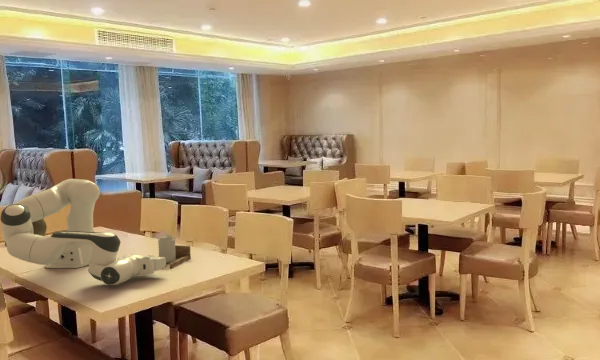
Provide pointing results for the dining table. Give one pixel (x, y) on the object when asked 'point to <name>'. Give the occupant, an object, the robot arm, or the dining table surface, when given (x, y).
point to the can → (167, 248)
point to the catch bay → (181, 255)
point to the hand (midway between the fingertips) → (151, 257)
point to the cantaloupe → (39, 227)
